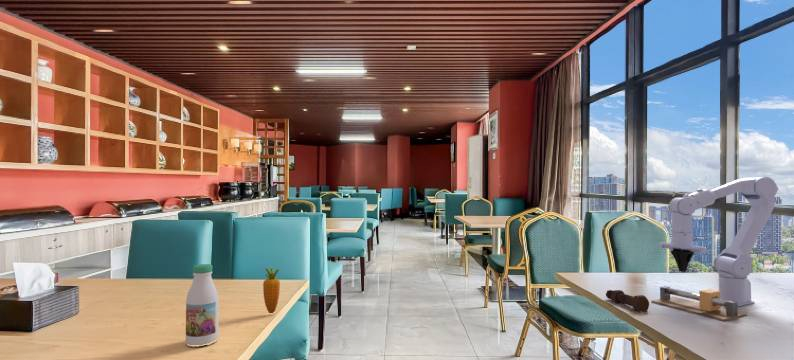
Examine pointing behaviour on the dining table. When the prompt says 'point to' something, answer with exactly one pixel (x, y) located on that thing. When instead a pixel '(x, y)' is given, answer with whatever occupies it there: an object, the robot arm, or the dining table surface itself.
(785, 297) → the dining table surface
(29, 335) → the dining table surface
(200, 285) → the milk bottle
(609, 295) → the bolt
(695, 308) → the board
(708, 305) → the collar
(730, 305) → the rail
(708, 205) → the robot arm
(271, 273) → the carrot
